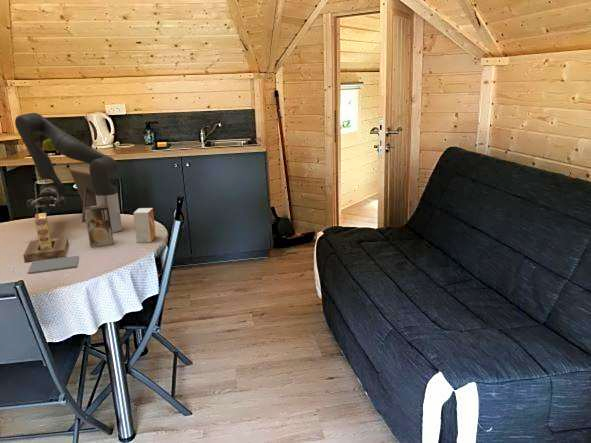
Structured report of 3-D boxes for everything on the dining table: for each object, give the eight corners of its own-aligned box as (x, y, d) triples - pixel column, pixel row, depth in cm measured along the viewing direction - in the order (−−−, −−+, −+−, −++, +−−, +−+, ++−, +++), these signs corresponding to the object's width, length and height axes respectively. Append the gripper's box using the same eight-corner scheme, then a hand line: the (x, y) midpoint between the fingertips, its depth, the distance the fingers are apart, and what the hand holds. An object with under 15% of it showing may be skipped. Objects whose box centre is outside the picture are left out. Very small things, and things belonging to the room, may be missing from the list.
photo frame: (95, 211, 254) (87, 164, 247) (116, 217, 241) (109, 168, 233) (67, 217, 244) (58, 168, 237) (87, 224, 230) (79, 173, 223)
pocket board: (68, 243, 202) (67, 236, 201) (65, 257, 185) (64, 249, 185) (31, 248, 197) (30, 241, 196) (24, 262, 181) (23, 254, 180)
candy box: (53, 255, 188) (47, 217, 184) (41, 256, 186) (34, 219, 182) (52, 248, 196) (46, 212, 192) (41, 250, 194) (34, 213, 190)
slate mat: (78, 256, 185) (78, 255, 185) (77, 267, 175) (76, 265, 174) (32, 262, 180) (32, 261, 180) (27, 274, 169) (27, 272, 169)
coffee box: (112, 240, 205) (107, 203, 201) (114, 244, 200) (109, 206, 196) (89, 243, 201) (83, 206, 197) (90, 247, 196) (84, 209, 191)
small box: (151, 242, 201) (148, 212, 197) (136, 242, 201) (132, 212, 197) (156, 236, 209) (153, 207, 205) (141, 236, 209) (138, 208, 205)
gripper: (29, 190, 209) (23, 198, 195) (65, 188, 214) (62, 195, 200) (32, 207, 211) (26, 216, 197) (67, 204, 216) (64, 213, 202)
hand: (44, 206), depth 198 cm, fingers open, 8 cm apart
